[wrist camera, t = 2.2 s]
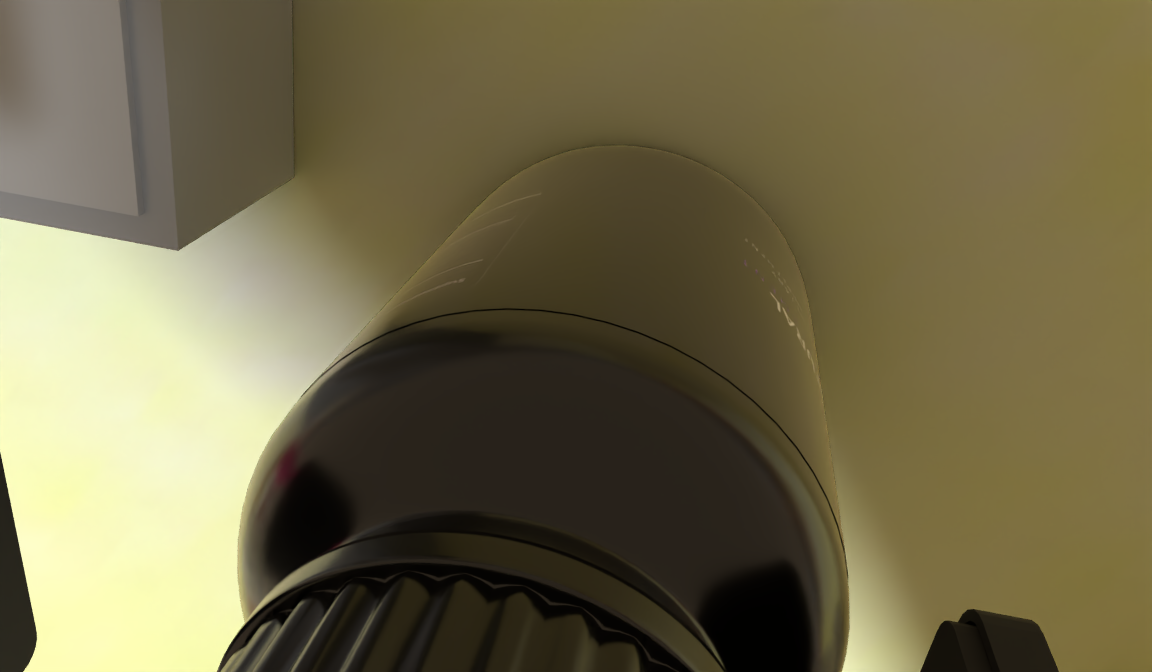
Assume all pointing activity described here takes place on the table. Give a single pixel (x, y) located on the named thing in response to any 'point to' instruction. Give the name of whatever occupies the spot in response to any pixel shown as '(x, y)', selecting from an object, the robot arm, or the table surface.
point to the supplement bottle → (562, 450)
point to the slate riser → (143, 113)
